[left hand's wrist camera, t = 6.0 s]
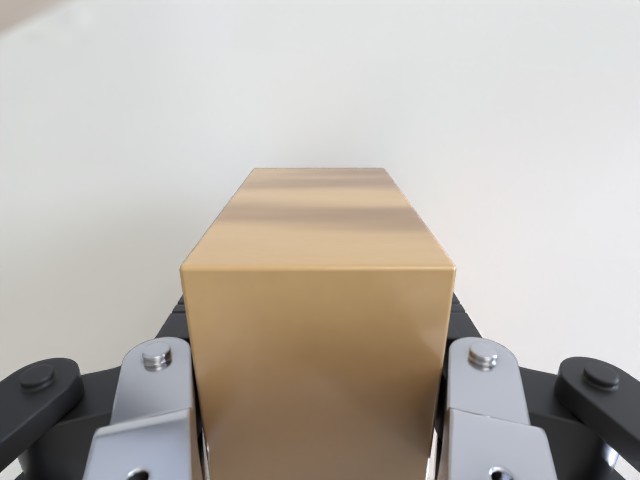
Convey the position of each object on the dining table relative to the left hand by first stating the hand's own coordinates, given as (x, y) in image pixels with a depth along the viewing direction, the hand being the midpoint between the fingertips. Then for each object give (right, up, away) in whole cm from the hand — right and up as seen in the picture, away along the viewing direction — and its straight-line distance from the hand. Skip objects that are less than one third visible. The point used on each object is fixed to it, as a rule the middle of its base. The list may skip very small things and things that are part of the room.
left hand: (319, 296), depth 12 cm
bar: (0, -7, +6) cm, 10 cm away
